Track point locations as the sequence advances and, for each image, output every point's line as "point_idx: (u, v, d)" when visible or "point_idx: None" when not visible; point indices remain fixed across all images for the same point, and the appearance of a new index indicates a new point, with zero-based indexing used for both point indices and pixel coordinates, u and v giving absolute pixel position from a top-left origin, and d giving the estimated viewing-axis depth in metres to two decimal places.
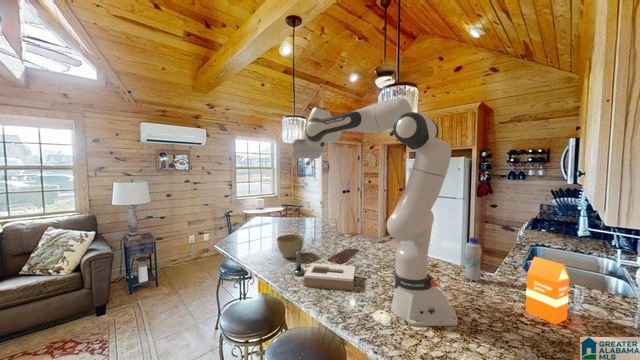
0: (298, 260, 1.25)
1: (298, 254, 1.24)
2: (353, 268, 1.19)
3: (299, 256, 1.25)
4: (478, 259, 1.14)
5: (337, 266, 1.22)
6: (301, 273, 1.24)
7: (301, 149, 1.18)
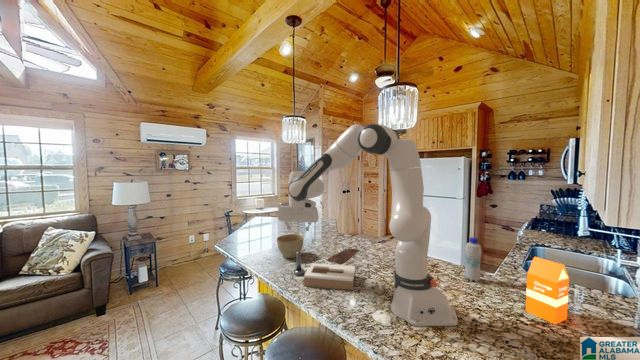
0: (298, 260, 1.25)
1: (298, 254, 1.24)
2: (353, 268, 1.19)
3: (299, 256, 1.25)
4: (478, 259, 1.14)
5: (337, 266, 1.22)
6: (301, 273, 1.24)
7: (285, 211, 1.24)
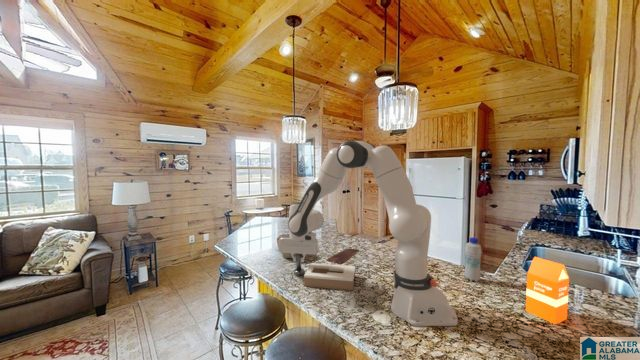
0: (298, 260, 1.25)
1: (298, 254, 1.24)
2: (353, 268, 1.19)
3: (299, 256, 1.25)
4: (478, 259, 1.14)
5: (337, 266, 1.22)
6: (301, 273, 1.24)
7: (286, 243, 1.25)
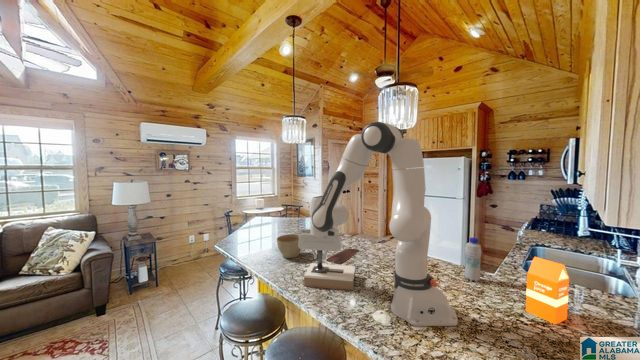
0: (319, 257, 1.17)
1: (319, 251, 1.17)
2: (353, 268, 1.19)
3: (320, 253, 1.17)
4: (478, 259, 1.14)
5: (337, 266, 1.22)
6: (322, 271, 1.17)
7: (306, 239, 1.17)
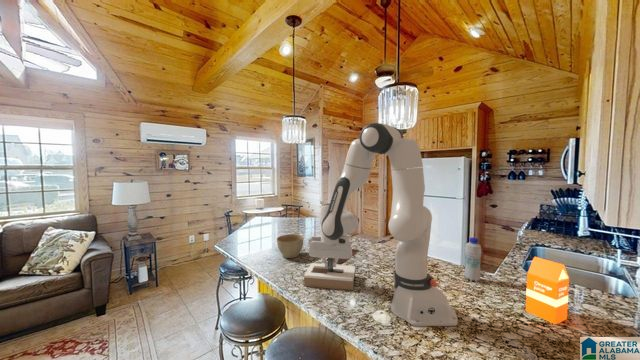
0: (330, 265, 1.16)
1: (330, 259, 1.16)
2: (353, 268, 1.19)
3: (331, 261, 1.16)
4: (478, 259, 1.14)
5: (337, 266, 1.22)
6: None
7: (317, 247, 1.16)
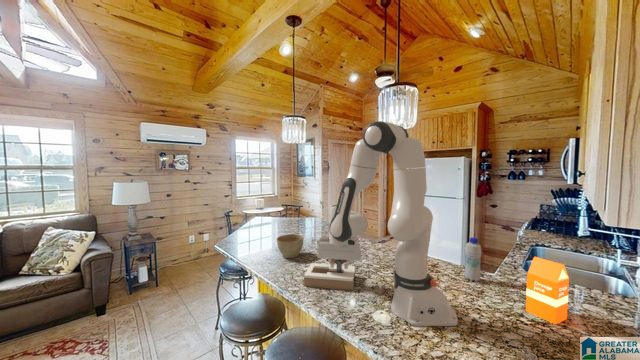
0: (339, 267, 1.15)
1: (339, 261, 1.15)
2: (353, 268, 1.19)
3: (340, 263, 1.15)
4: (478, 259, 1.14)
5: None
6: None
7: (326, 248, 1.16)
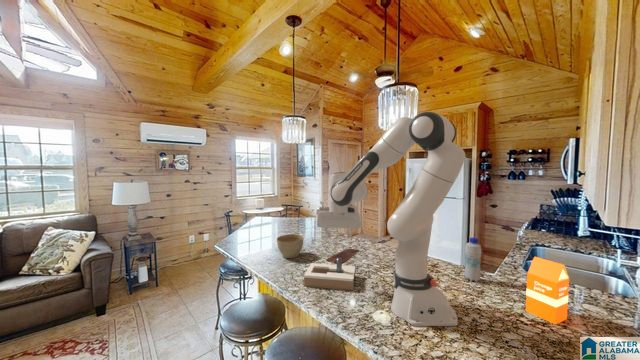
0: (339, 267, 1.15)
1: (339, 261, 1.15)
2: (353, 268, 1.19)
3: (340, 263, 1.15)
4: (478, 259, 1.14)
5: None
6: None
7: (325, 217, 1.15)
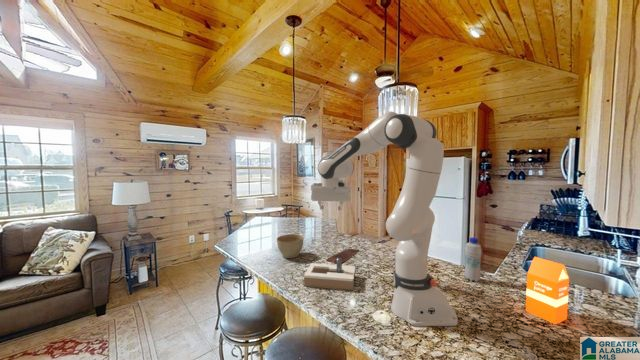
0: (339, 267, 1.15)
1: (339, 261, 1.15)
2: (353, 268, 1.19)
3: (340, 263, 1.15)
4: (478, 259, 1.14)
5: None
6: None
7: (319, 191, 1.29)
